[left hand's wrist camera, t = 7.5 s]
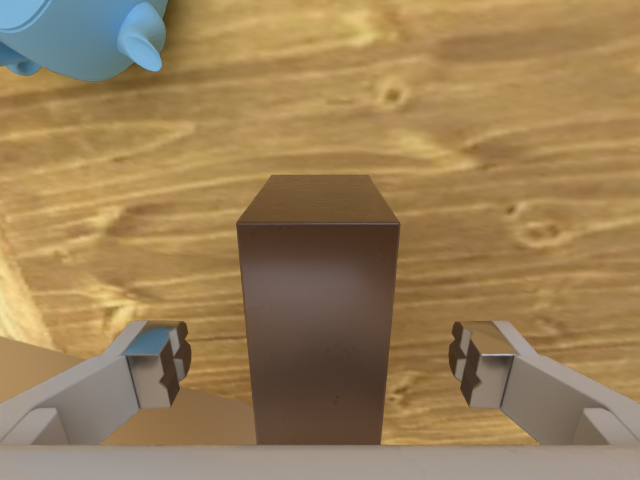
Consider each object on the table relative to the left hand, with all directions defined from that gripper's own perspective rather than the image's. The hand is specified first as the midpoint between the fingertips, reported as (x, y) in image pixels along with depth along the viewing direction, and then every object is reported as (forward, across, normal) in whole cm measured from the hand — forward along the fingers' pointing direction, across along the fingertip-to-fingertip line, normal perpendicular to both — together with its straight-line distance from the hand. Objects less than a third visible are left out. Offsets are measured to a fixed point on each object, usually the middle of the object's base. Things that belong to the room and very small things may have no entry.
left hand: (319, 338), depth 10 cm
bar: (+10, 0, -10) cm, 14 cm away
